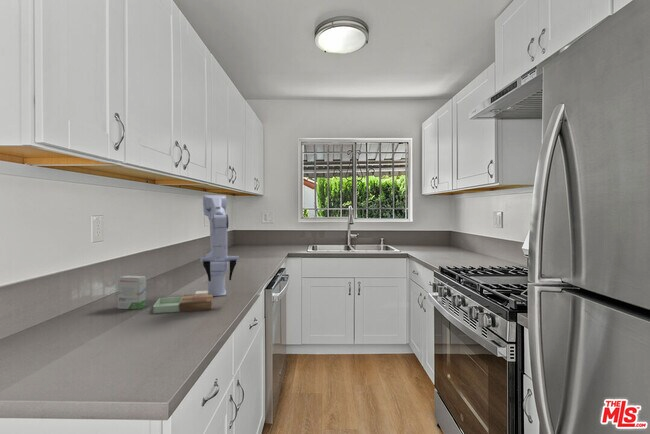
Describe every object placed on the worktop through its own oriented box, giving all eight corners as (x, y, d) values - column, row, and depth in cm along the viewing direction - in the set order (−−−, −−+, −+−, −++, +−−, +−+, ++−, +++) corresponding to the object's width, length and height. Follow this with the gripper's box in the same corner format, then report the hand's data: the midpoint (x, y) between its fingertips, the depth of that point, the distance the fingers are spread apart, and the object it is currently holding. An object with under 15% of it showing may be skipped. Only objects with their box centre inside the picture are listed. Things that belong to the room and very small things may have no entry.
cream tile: (196, 295, 145) (196, 291, 145) (208, 294, 146) (208, 290, 146) (195, 297, 141) (195, 293, 141) (207, 297, 142) (207, 293, 142)
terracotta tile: (194, 298, 139) (194, 294, 139) (207, 298, 140) (207, 294, 140) (193, 301, 135) (193, 297, 135) (206, 301, 136) (206, 296, 136)
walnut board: (183, 302, 145) (183, 295, 145) (212, 300, 148) (212, 293, 148) (179, 311, 133) (179, 303, 133) (211, 309, 135) (211, 301, 135)
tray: (159, 304, 143) (159, 298, 143) (183, 302, 145) (183, 296, 145) (152, 313, 130) (152, 306, 130) (179, 311, 133) (179, 305, 133)
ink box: (117, 309, 136) (116, 277, 136) (126, 305, 141) (125, 274, 141) (139, 309, 135) (138, 278, 135) (147, 306, 140) (146, 275, 140)
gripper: (199, 247, 137) (199, 283, 137) (239, 246, 140) (239, 281, 141) (200, 245, 144) (201, 279, 144) (238, 244, 147) (238, 277, 148)
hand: (220, 280), depth 143 cm, fingers open, 7 cm apart
